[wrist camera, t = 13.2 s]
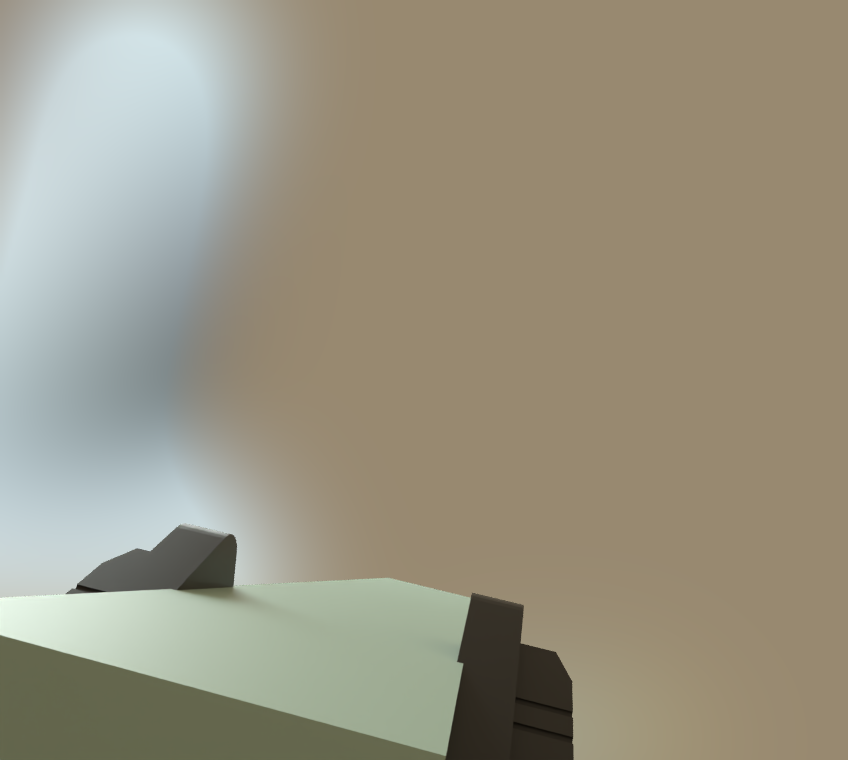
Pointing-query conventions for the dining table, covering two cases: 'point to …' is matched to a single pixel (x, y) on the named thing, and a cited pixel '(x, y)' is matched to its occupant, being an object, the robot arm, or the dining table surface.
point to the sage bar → (232, 673)
